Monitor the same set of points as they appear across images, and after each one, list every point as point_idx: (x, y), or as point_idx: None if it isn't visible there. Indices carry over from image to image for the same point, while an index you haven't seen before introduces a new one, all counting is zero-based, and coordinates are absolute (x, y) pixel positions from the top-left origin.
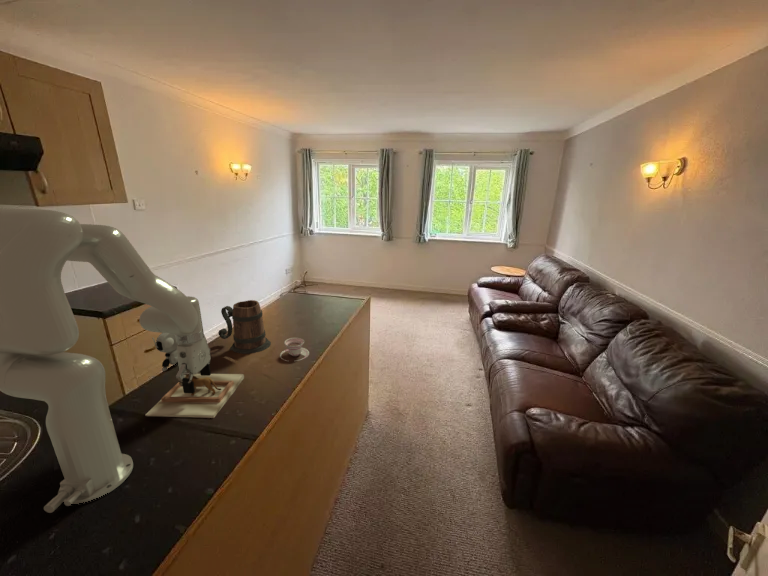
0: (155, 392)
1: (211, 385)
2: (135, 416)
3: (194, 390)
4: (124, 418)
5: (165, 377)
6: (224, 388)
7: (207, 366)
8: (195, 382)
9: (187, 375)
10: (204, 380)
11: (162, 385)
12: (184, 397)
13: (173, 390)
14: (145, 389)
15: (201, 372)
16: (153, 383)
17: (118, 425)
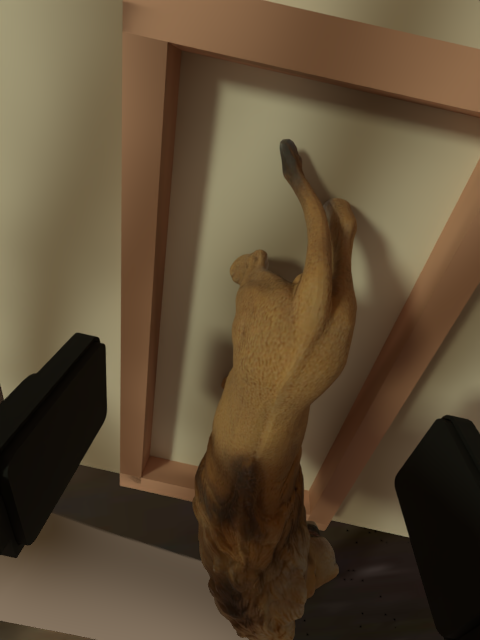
0: (184, 517)
1: (265, 269)
2: (371, 542)
3: (466, 433)
4: (369, 564)
5: (54, 507)
6: (321, 77)
7: (14, 463)
8: (294, 454)
9: (266, 604)
10: (323, 390)
11: (124, 506)
12: (364, 434)
13: None
14: (156, 545)
15: (87, 440)
16: (108, 532)
17: (416, 570)
